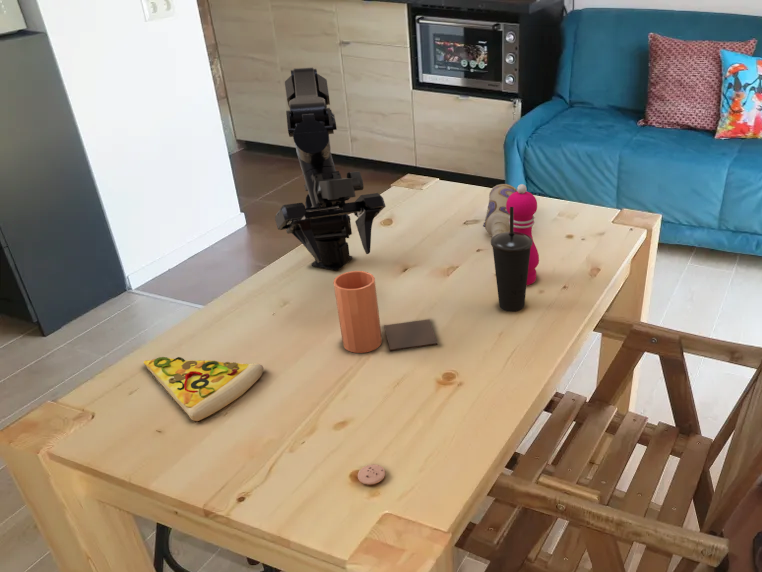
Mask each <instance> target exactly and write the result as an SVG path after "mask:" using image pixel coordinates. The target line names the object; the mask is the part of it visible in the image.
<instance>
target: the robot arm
mask: <svg viewBox="0 0 762 572" xmlns="http://www.w3.org/2000/svg"><path fill="white" fill-rule="evenodd" d="M328 86H329V85H328V80H327V78H325V77H323V76H322V75H320V74H319V73H318V70H317V68H314V67H297V68H293V69H290V76H289V77H288V78H287V79H286V80H285V81H284V90H285V95H286V101H287V105H288V108H289V109H288V110H285V113H286V124H287V133H288V137H289V138H293V143H294V146H295V150H296V155H297V158H298V162H299V166H300V168H301V172H302V175H303V179H304V182H305V184H304V185H303V187H304V190H305V192H308V194H307V195H306V197H305V202H304V203H303V202H297V203H296V202H295V203H288V204H282V206H281V207H280V208H279V210H278V211H277V213H276V214H275V215H274V220H275V223H276V228H277V230H279V231H283V230H285V232H286V234H288V235H289V234H292V235H293V237H295V238H296V239H297V240H298V241H299V242H300V243H301V244H302V245H303V246H304V247H305V249H306V250H307V251H308V252H309V253H310V255H311V256H312V258H314V261H313V262H312V263H310V264H311V267H313V268H319V269H323V270H324V269H325V270H330V271H333V272H334V271H335V272H338V271H340V270H341V269H342V268H344V266H346V265H348V263H350V262H351V261H352V260H353V259H354V258H353V255H351V254H350V248H349V242H347V239H350V236H351V235H352V234H353V232H352V223H351V216H350V215H349V214H354V216H356V217H357V219H356V220H355V222H354V223H355V226H356V229H357V232H358V235H359V238H360V241H361V245H362V247H363V250H364V252H365V254H366V255H369V254H370V253H371V243H372V227H373V222H374V219H375V218H376V217H377V216H378V215H379V214H380V213H381V212H382V211H383V210H384V209H385V208H386V203H385V199H384V197H383V196H382V195H381V194H380V193H378V192H373V193H367V194H361V195H359V197H358V198H357V199H355V201H352V202H346V201H349V200H350V199H351V198H355V197H356V192H357V191H363V190H364V188H365V187H364V180H363V177H362V174H361V171H359V170H357V171H350V172H347V173H346V177H343V178H342V175H341V173H340V171H339V170H336V166H335V163H334V160H333V155H332V153H331V141H330V135H335V134H334V133H335V132H334V131H337V130H338V129H337V122H336V116H335V114H334V112H332V109H331V107H328V106H330V105H331V102H330V93H329V87H328Z"/></svg>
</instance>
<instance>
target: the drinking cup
mask: <svg viewBox="0 0 762 572" xmlns="http://www.w3.org/2000/svg"><path fill="white" fill-rule="evenodd" d="M491 237H492V236H491ZM532 238H533V237H532ZM532 238H531V237H530V236H528V235H526V234H523V233H519V232H514V207H510V232H504V233H500V234H497V235H495V236H494V237H492V238H490V245H491V247H492V254H493V261H494V263H493V264H494V272H495V278H496V279H495V281H496V288H497V297H498V306H499V308H500V309H501V310H502V311H504V312H507V313H516V312H520V311H522V310H523V309H524V307H525V304H526V303H525V302H526V295H527V294H526V293H527V286H528V285H527V276H528V267H529V258H530V249H531V246H532V244H533V241H534V239H533V240H532Z"/></svg>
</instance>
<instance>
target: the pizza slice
mask: <svg viewBox="0 0 762 572" xmlns="http://www.w3.org/2000/svg"><path fill="white" fill-rule="evenodd" d="M143 364H144V365H145V366H146V368H147V370H148V371H149V372H151V374H152V375H153V376H154V377H155V378H156V380H157V382H159V384H160V385H162V386H163V388H164V390H166V392H167V393H168V394H169V396H171V398H172V399H173V400H174V401H175V402H176V403H177V404H178V405H179V407H180V408H181V409H182V410H183V411H184V412H185V413H186V414H187V416H188V417H189V418H190V420H192V421H194V422H198V421H199V422H200V421H201V420H203V419H205V418H207V417H210V416H212V415H213V414H215V413H218V411H220V410H222V409H224V408H225V407H227V406H228V405H229V404H231V403H233V402H235V400H237V399H238V398H240V397H242V395H244V394H245V393H246V392H247V391H248V390H249V389H250V388H251V387H252V386H253V385H254V384H256V382H257V381H258V380H259V379H260V378H261V376H262V375H263V372H264V370H265V369H264V366H263V364H261V363H258V362H254V363H250V364H249V363H239V362H236V361H235V362H230V361H225V362H224V361H217V360H201V359H199V360H192V359H191V360H190V359H189V360H188V359H184V358H183V357H181V356H177V357H176V358H172V357H166V356H159V357H157V358H153V359H149V360H148V359H147V360H143Z"/></svg>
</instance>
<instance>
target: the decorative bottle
mask: <svg viewBox="0 0 762 572" xmlns="http://www.w3.org/2000/svg"><path fill="white" fill-rule="evenodd" d="M514 192H517V188H516V187H515V186H513V185H511V184H508V183H500V184H496V185H495V186H493V187H492V188H491V190H490V191H489V195H488V196H489V197H488V198H489V199H488V205H487V209H486V213H485V214H486V215H485V219H484V222H483V224H482V227H483V228H484V229H485V231H486V233H487V234H488V235H489V236H490V237H494V236H495V235H497V234H500V233H504V232H510V224H509V216H510V214H509V213H508V212H507V209H506V202H507V199H508V197H509V196H510V195H511V194H512V193H514Z"/></svg>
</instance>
